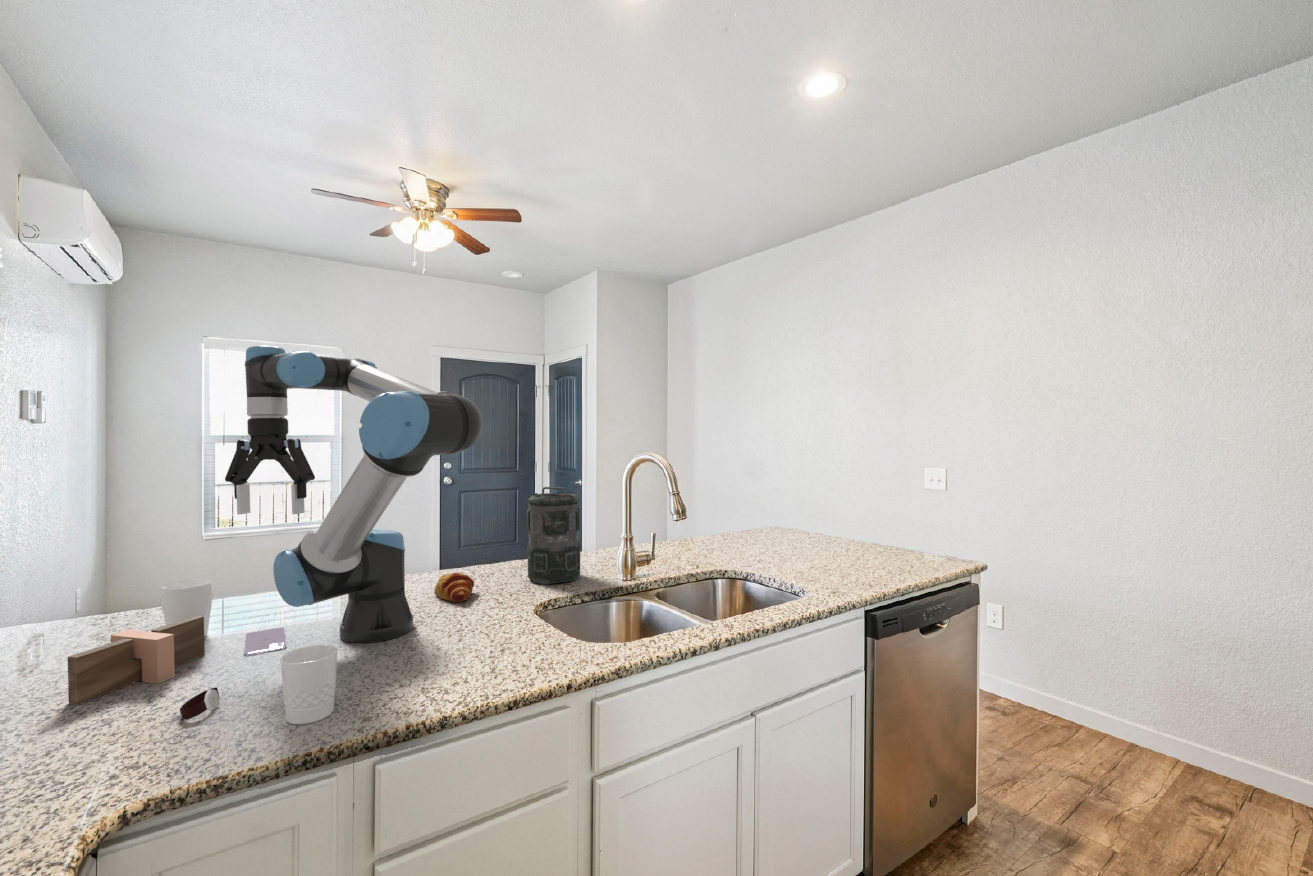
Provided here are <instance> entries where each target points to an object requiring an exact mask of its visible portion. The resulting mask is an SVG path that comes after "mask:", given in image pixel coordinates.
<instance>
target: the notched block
mask: <svg viewBox="0 0 1313 876" xmlns="http://www.w3.org/2000/svg"><path fill="white" fill-rule="evenodd" d="M122 639H133V658H139V659H142V680H141V682H144V683H150V682H153V683H152V684H160V683H163V682H165V681H168V680H170V679H172V678H174V677H176V676H175V674H176V673H175V671H176V670H175V667H174V634H166V633H156V632H151V631H147V630H146V631H145V630H137V629H136V630H134V629H126V630H123V631H120V632H117V633H114V634H111V635H110V643H112V642H115V641H118V640H122Z"/></svg>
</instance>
